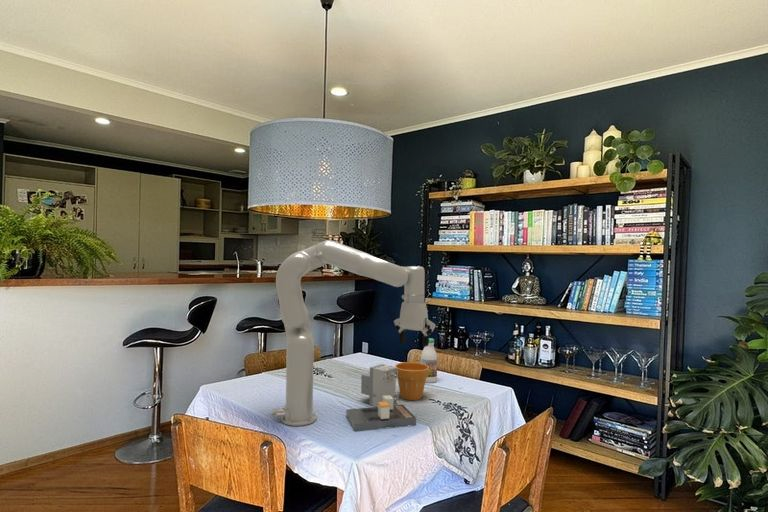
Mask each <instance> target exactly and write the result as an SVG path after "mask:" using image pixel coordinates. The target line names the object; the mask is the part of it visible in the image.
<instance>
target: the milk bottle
mask: <svg viewBox="0 0 768 512" xmlns="http://www.w3.org/2000/svg"><path fill="white" fill-rule="evenodd" d="M434 344H435V339H434V338H431V337H429V344H428V346H426V347H423V350H422V352H421V356H420V363H422V364H426V365H427V366H429V375H428V377H427V378H426V382H425V384H427V383H428V384H432V383H437V381H438V377H437V376H438V355H437V351H436V349H435V346H434Z"/></svg>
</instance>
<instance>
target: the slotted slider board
mask: <svg viewBox="0 0 768 512" xmlns="http://www.w3.org/2000/svg"><path fill="white" fill-rule="evenodd" d="M345 412H346V413H345V414H346V415H345V416H346V419H347V420H348V422H349V424H350V426H351V428H352V429H353V431H354V432H363V431H371V430H372V429H373V430H380V429H379V428H383V429H387V428H386V427H393V428H396V427H395V426H402V427H409V426H408V425H412V426H417V418H416V416H415V415H414V414H413V413H412V412H411V411H410V410H409V409H408V408H407V407H406V406H405V405H404V404H397V405H394V406H393V409H392V410H390V413H389V418H388V419H381V418H380V417H379V416H378V407H374V406H370V407H363V408H361V407H360V408H351V409H346V411H345Z"/></svg>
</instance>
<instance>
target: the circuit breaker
mask: <svg viewBox="0 0 768 512" xmlns="http://www.w3.org/2000/svg"><path fill="white" fill-rule="evenodd" d="M395 374H396V375H395ZM360 379H361V381H360V382H361V386H360V388H361V389H360V390H361V391H360V392H361V393H360V394H363V395H366V396H368V397H369V398H368V399H369V406H371V405H372V406H371V407H374V406H375V407H378V402H382V401H383V396H386V395H391V396H392V398H393V406H394V405H398V403H397V402H398V392H396V390H397V389H396V388H397V387H396V386H397V380H396V379H398V371H397V367H395V365H394V366H393V365H389V364H385V363H380V364H377V365H373V366H370V367H369V371H368V372H366V373H363V374H361V378H360Z"/></svg>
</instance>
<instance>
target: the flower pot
mask: <svg viewBox="0 0 768 512" xmlns="http://www.w3.org/2000/svg"><path fill="white" fill-rule="evenodd" d="M394 367H397V371H398V378H397V384H398V388H399V395H400V397H401V398H402V399H403V400H406V401H407V400H408V401H418V400H420V399H422V398H423V394H424V389H425V385H426V378H427V377H428V375H429V366H427V365H426V364H422V363H421V362H416V361H408V362H407V361H403V362H399V363H397V364H395V365H394ZM395 376H396V374H395Z"/></svg>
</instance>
